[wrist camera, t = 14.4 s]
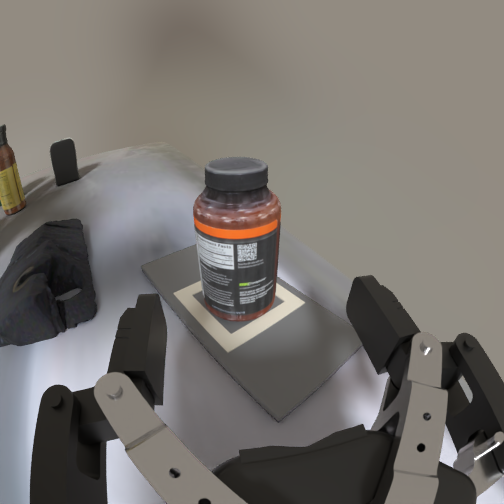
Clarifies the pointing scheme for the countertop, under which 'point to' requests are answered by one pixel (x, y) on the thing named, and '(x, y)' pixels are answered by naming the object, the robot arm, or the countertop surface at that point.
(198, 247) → the supplement bottle
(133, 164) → the countertop surface
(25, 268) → the black pouch
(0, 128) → the sauce bottle
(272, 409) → the pad
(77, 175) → the battery charger
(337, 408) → the countertop surface
